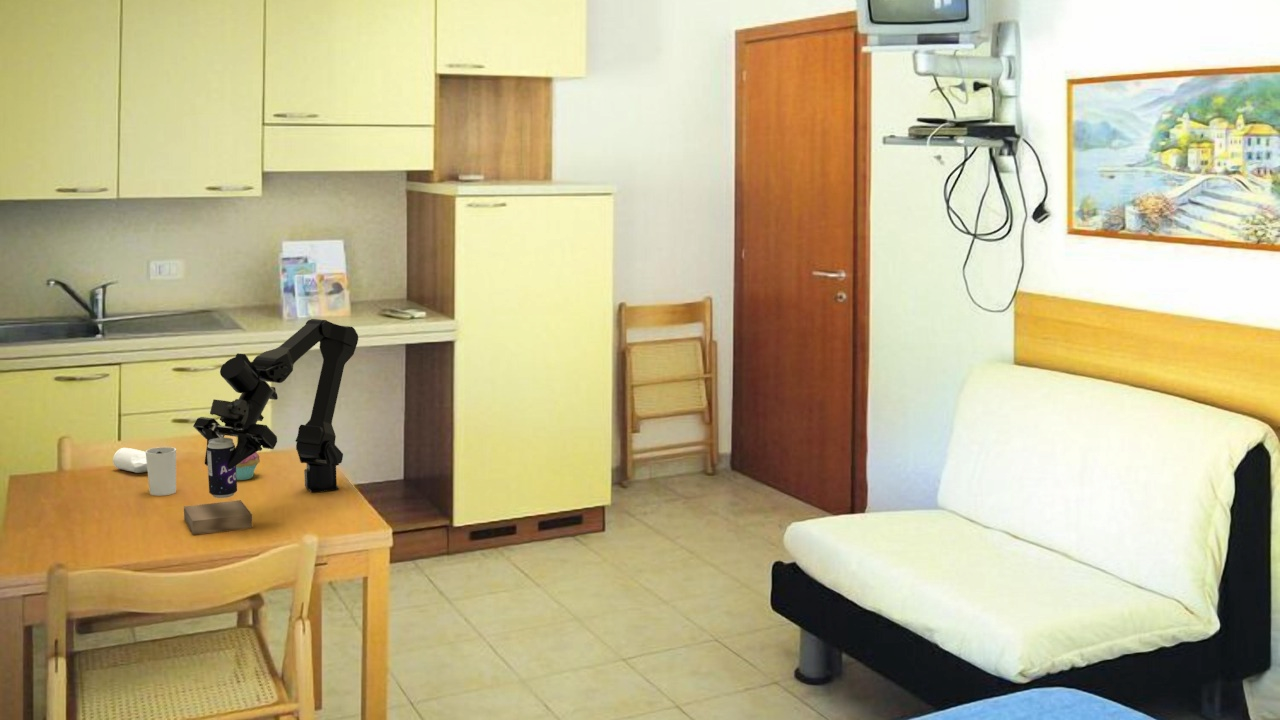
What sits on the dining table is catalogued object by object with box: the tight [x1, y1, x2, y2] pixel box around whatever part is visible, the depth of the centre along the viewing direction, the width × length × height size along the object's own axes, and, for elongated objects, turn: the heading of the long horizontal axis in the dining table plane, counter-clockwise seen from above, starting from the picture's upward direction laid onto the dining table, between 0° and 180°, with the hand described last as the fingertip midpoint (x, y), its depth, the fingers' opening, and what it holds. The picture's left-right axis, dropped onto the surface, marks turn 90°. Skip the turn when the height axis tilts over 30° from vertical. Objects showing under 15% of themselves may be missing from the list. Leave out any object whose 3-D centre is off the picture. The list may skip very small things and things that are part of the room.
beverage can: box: [206, 437, 238, 499], centre depth 280 cm, size 6×6×12 cm
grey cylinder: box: [145, 446, 177, 497], centre depth 306 cm, size 7×7×10 cm
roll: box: [112, 447, 148, 474], centre depth 324 cm, size 6×12×6 cm, turn 54°
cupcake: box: [236, 437, 261, 481], centre depth 320 cm, size 9×8×12 cm
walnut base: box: [183, 500, 253, 536], centre depth 283 cm, size 12×12×3 cm
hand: (217, 466), depth 279 cm, fingers closed on beverage can, 6 cm apart
